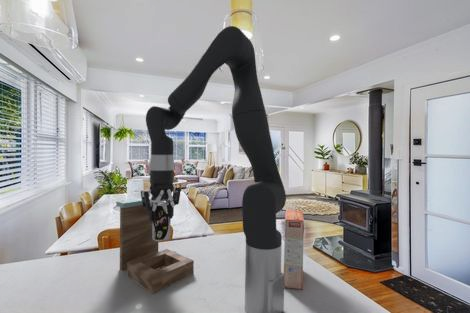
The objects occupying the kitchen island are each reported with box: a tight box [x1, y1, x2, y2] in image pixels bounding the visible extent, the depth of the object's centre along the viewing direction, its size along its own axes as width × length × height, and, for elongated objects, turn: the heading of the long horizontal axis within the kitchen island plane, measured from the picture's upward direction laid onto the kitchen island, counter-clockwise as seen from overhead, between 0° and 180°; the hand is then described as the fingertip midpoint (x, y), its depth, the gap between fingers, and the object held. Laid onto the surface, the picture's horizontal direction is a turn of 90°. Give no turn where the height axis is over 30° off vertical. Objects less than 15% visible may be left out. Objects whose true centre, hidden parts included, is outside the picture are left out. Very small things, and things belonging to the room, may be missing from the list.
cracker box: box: [283, 209, 305, 290], centre depth 79 cm, size 14×6×21 cm, turn 167°
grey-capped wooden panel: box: [115, 195, 166, 272], centre depth 87 cm, size 5×16×24 cm, turn 141°
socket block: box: [126, 248, 195, 294], centre depth 79 cm, size 15×15×4 cm
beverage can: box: [152, 201, 172, 243], centre depth 79 cm, size 6×6×12 cm
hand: (161, 219), depth 79 cm, fingers closed on beverage can, 5 cm apart
